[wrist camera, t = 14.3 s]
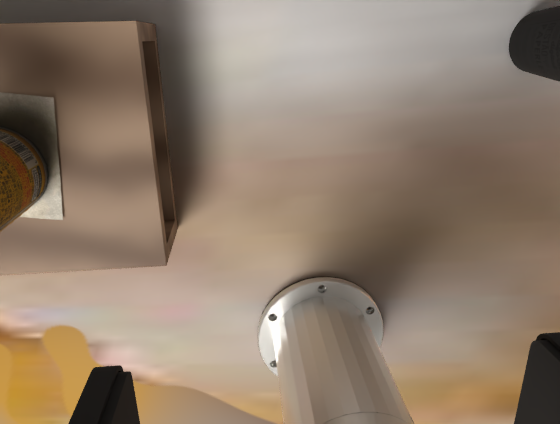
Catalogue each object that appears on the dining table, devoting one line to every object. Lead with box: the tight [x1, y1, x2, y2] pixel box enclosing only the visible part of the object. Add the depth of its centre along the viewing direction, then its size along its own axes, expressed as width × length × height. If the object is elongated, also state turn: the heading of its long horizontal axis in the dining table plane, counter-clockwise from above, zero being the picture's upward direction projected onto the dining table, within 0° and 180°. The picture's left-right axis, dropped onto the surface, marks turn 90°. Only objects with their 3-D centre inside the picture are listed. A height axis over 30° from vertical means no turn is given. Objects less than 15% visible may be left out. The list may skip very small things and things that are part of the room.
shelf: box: [0, 21, 178, 276], centre depth 34 cm, size 17×20×7 cm
